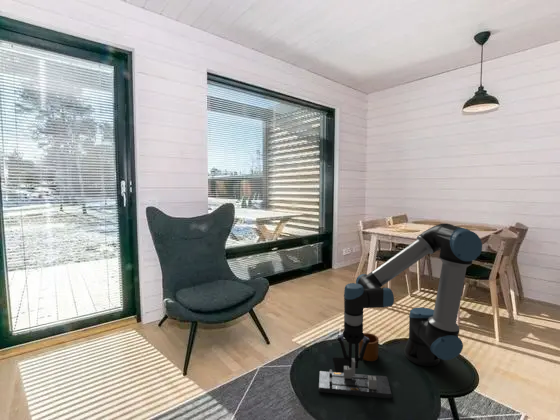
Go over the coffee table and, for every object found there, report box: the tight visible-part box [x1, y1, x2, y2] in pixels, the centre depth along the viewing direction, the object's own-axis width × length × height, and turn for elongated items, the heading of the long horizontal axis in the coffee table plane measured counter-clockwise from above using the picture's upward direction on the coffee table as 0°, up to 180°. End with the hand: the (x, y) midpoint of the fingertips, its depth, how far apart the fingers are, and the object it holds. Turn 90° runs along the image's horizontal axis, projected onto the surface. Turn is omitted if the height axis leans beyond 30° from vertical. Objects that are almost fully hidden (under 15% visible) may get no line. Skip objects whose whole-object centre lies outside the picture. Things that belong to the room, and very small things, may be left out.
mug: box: [358, 332, 380, 362], centre depth 147 cm, size 9×12×9 cm
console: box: [318, 369, 393, 399], centre depth 126 cm, size 28×10×4 cm, turn 80°
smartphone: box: [332, 357, 348, 373], centre depth 137 cm, size 7×1×15 cm
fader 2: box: [368, 375, 377, 389], centre depth 122 cm, size 3×2×4 cm
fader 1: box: [344, 366, 351, 379], centre depth 128 cm, size 3×2×4 cm
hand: (353, 374), depth 128 cm, fingers closed
